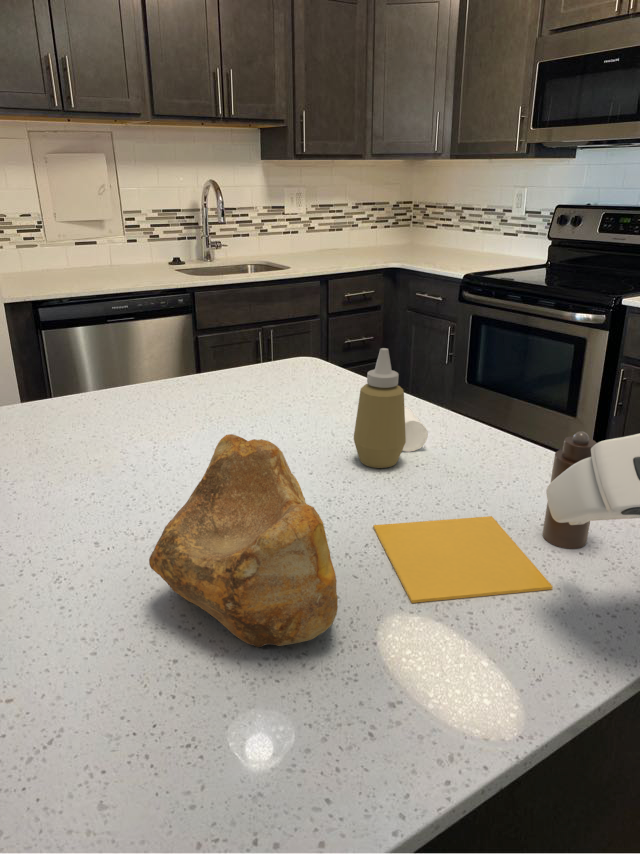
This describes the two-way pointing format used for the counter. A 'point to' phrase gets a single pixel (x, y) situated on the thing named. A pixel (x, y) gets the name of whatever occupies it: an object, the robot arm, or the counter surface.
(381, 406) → the squeeze bottle
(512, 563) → the yellow square plate
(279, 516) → the rough brown rock
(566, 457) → the pepper mill
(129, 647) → the counter surface
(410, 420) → the roll
